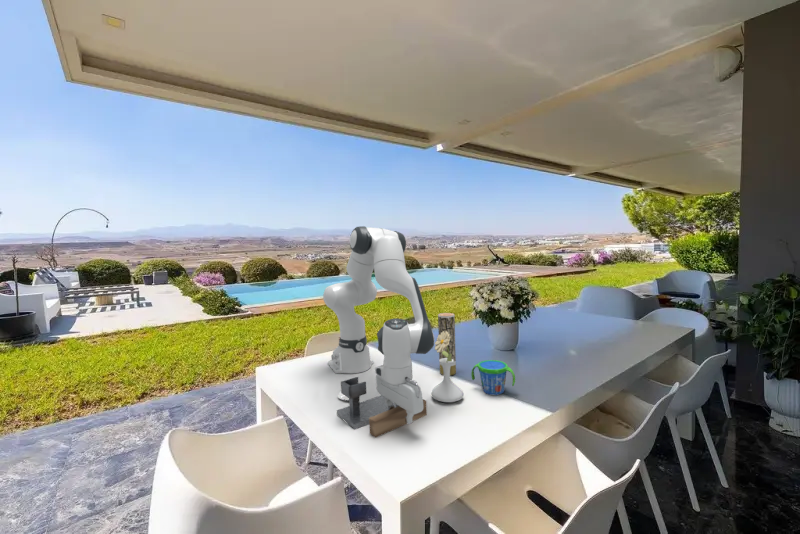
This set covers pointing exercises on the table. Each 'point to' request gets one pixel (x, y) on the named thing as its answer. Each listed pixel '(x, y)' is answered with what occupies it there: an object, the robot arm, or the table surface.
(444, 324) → the grey wooden cylinder
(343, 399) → the pale veined leaf
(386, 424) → the walnut rail
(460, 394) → the flower in vase
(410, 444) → the table surface
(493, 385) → the snack cup
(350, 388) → the bracket stand
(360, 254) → the robot arm
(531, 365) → the table surface
